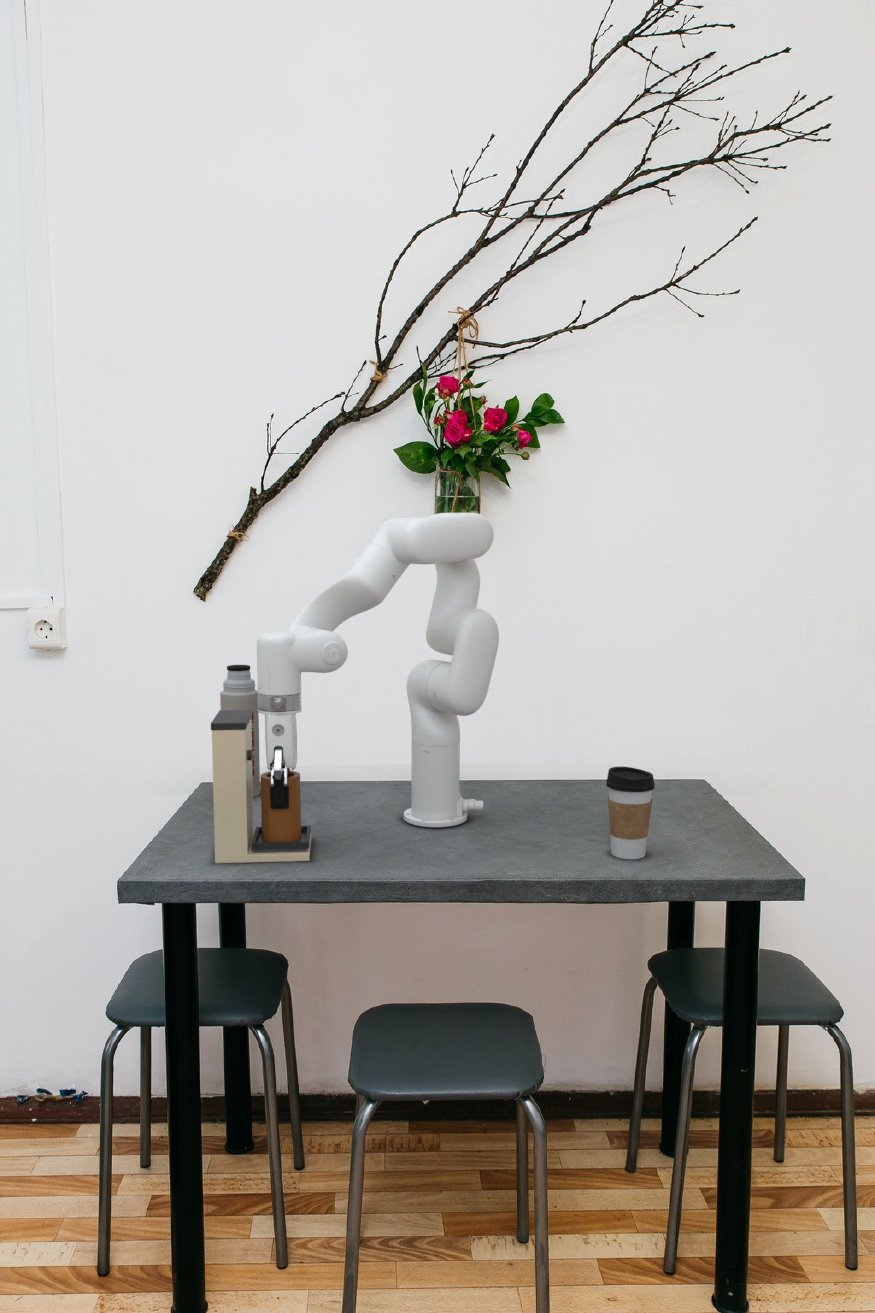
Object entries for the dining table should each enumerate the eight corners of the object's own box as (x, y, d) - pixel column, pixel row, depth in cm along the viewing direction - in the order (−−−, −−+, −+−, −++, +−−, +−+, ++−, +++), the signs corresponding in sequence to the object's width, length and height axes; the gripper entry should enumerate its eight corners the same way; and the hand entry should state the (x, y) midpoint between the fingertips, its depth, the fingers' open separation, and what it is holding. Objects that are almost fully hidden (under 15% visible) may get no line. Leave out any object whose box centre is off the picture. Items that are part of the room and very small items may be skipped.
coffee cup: (618, 843, 181) (621, 763, 179) (660, 853, 176) (663, 770, 174) (595, 855, 174) (597, 771, 173) (638, 865, 169) (641, 779, 167)
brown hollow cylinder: (301, 834, 180) (300, 769, 178) (300, 846, 173) (299, 779, 171) (263, 835, 179) (262, 770, 177) (260, 847, 172) (259, 780, 171)
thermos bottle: (262, 797, 211) (259, 667, 207) (223, 800, 209) (220, 668, 205) (258, 788, 218) (255, 662, 215) (221, 790, 216) (218, 663, 213)
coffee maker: (311, 839, 183) (309, 709, 179) (309, 861, 171) (307, 722, 167) (222, 841, 181) (219, 710, 178) (214, 863, 169) (210, 723, 166)
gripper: (299, 711, 164) (300, 816, 167) (303, 694, 182) (304, 789, 184) (253, 712, 164) (255, 817, 166) (261, 695, 181) (263, 790, 183)
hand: (281, 801), depth 175 cm, fingers closed on brown hollow cylinder, 6 cm apart
